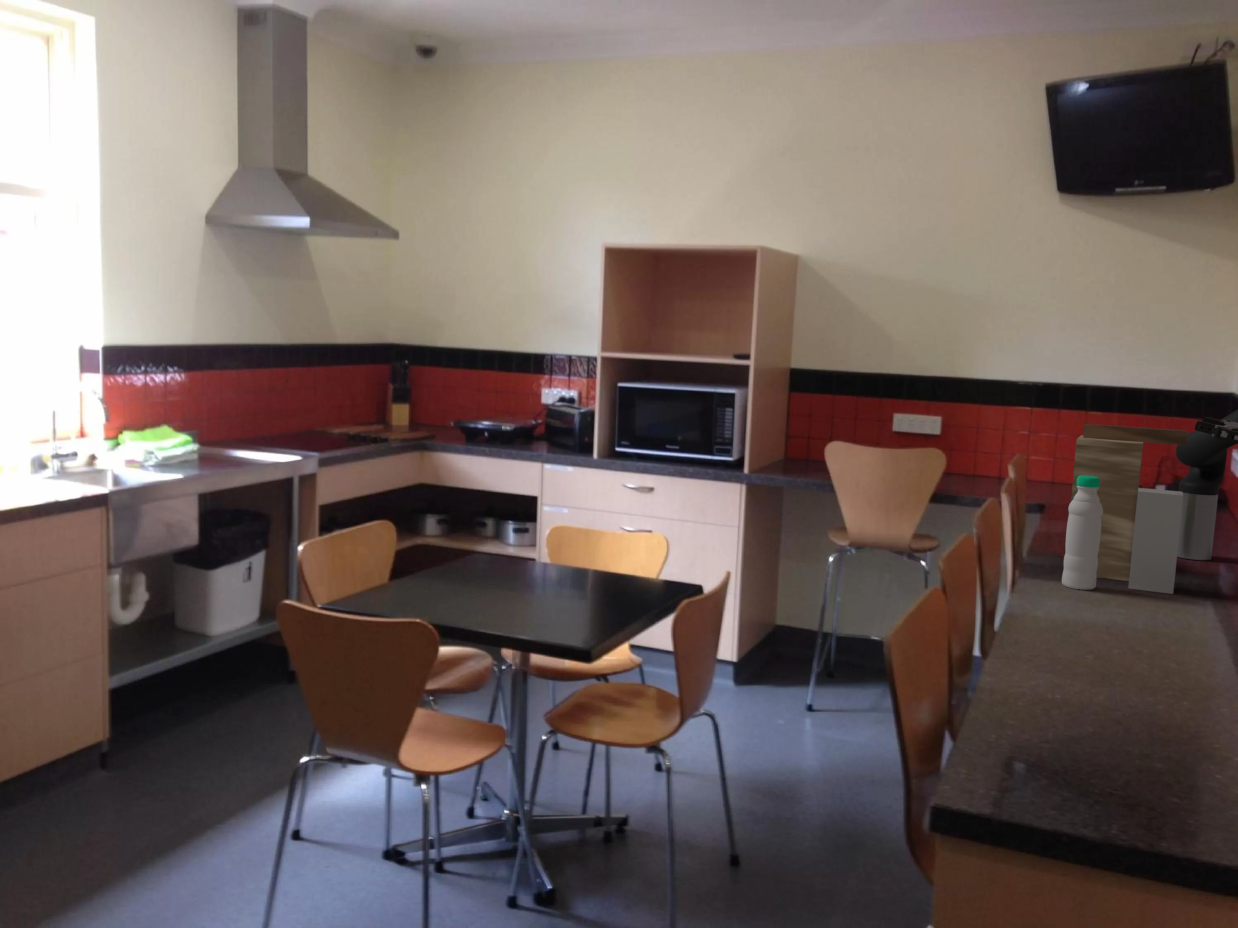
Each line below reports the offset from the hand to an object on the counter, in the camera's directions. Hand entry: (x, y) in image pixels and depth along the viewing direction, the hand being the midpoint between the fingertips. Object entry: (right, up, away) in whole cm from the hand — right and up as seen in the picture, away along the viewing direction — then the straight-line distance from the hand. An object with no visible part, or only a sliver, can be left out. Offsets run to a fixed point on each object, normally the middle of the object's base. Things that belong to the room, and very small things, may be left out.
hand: (1199, 423), depth 250 cm
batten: (-12, -4, +6) cm, 14 cm away
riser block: (-14, -37, -6) cm, 41 cm away
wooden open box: (-18, -35, +12) cm, 41 cm away
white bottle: (-32, -37, -9) cm, 50 cm away
